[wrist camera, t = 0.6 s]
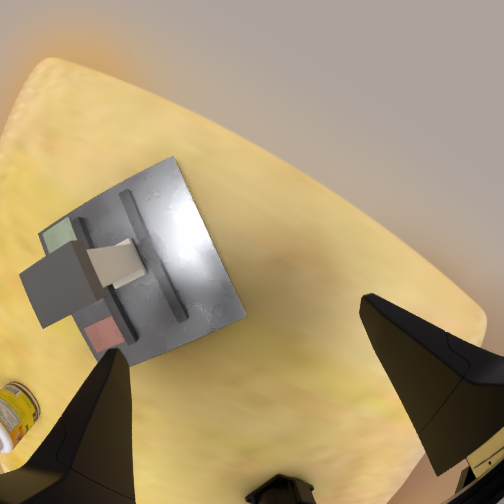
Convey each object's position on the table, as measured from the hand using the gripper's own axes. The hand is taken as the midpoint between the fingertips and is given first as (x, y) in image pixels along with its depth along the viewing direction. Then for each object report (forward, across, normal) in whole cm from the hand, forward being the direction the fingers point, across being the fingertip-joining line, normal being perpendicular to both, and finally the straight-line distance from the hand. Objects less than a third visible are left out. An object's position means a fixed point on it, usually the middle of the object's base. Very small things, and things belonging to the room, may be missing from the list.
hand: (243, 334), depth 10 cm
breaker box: (+15, +8, +4) cm, 17 cm away
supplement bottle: (+9, +28, +16) cm, 33 cm away
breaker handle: (+13, +8, +3) cm, 15 cm away
